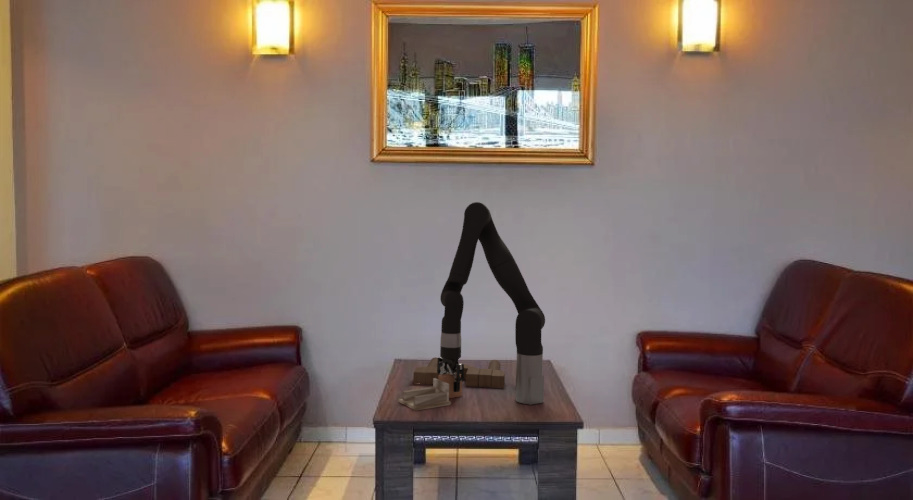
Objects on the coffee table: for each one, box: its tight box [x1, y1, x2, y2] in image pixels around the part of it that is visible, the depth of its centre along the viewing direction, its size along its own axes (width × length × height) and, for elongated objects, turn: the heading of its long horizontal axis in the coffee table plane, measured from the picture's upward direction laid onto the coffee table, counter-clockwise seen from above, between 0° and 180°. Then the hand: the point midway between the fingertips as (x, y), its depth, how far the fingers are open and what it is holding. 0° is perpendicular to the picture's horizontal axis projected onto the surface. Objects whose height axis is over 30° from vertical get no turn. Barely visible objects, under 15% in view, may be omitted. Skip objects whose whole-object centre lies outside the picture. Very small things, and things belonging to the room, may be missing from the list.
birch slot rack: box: [398, 378, 452, 411], centre depth 241 cm, size 12×14×7 cm
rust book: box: [438, 374, 463, 399], centre depth 250 cm, size 4×8×8 cm, turn 123°
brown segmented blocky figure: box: [412, 357, 506, 389], centre depth 280 cm, size 35×6×29 cm
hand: (449, 388), depth 251 cm, fingers open, 8 cm apart
